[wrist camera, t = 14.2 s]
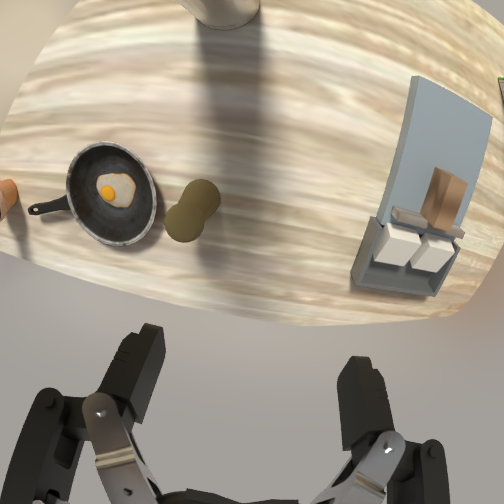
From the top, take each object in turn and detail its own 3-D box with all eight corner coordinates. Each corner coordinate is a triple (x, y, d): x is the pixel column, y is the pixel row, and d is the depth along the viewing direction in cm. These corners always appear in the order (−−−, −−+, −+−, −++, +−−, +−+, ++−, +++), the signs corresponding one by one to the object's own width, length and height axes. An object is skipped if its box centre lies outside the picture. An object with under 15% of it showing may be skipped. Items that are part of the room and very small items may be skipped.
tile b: (386, 222, 39) (390, 237, 37) (417, 230, 39) (421, 244, 37) (371, 246, 44) (374, 260, 42) (400, 252, 44) (403, 266, 42)
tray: (370, 216, 42) (378, 227, 38) (450, 237, 42) (460, 247, 38) (350, 271, 48) (355, 285, 44) (427, 284, 48) (435, 296, 44)
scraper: (407, 156, 34) (423, 165, 29) (471, 182, 34) (488, 193, 29) (390, 212, 38) (402, 227, 34) (454, 230, 38) (468, 245, 34)
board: (411, 76, 29) (419, 75, 27) (484, 115, 29) (492, 117, 27) (375, 217, 42) (380, 224, 40) (446, 236, 42) (453, 242, 40)
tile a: (425, 232, 39) (429, 246, 37) (449, 239, 39) (454, 252, 37) (408, 254, 44) (411, 267, 42) (432, 259, 44) (436, 272, 42)
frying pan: (173, 235, 47) (166, 246, 44) (51, 242, 51) (41, 251, 48) (153, 127, 37) (142, 130, 34) (27, 164, 41) (15, 170, 38)
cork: (228, 203, 43) (213, 236, 34) (198, 221, 45) (177, 257, 36) (205, 172, 41) (183, 196, 31) (176, 192, 43) (148, 221, 33)
